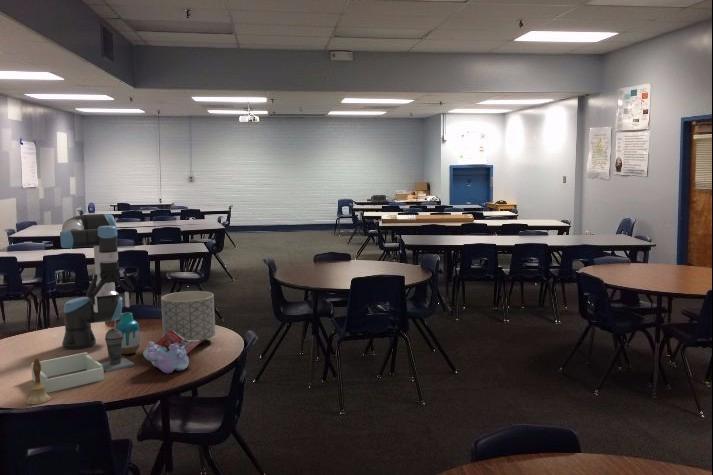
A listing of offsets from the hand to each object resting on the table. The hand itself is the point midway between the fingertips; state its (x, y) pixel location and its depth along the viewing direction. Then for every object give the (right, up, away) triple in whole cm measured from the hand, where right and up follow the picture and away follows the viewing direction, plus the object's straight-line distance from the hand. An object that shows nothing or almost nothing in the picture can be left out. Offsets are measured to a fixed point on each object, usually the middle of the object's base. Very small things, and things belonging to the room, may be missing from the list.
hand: (111, 309), depth 263 cm
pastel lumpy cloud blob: (+26, -26, -1) cm, 37 cm away
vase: (0, -24, +20) cm, 31 cm away
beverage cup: (+1, -24, +2) cm, 25 cm away
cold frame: (-12, -27, -15) cm, 33 cm away
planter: (+24, -21, +36) cm, 48 cm away
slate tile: (+1, -25, +3) cm, 25 cm away
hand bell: (-12, -30, -37) cm, 50 cm away
